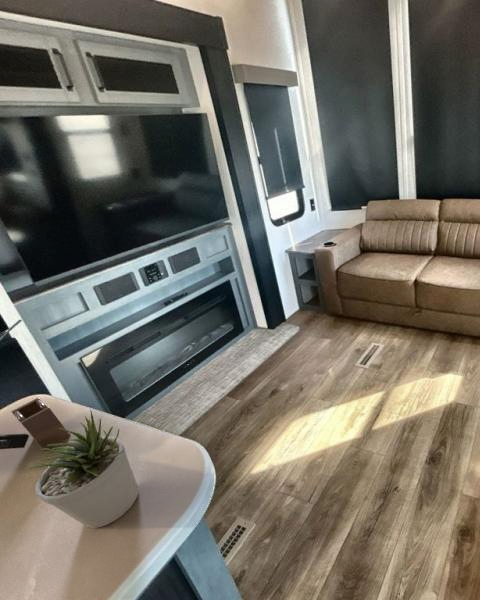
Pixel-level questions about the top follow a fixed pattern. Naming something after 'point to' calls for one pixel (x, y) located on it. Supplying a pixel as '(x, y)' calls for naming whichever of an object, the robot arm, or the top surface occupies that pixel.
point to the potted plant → (89, 478)
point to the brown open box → (41, 423)
